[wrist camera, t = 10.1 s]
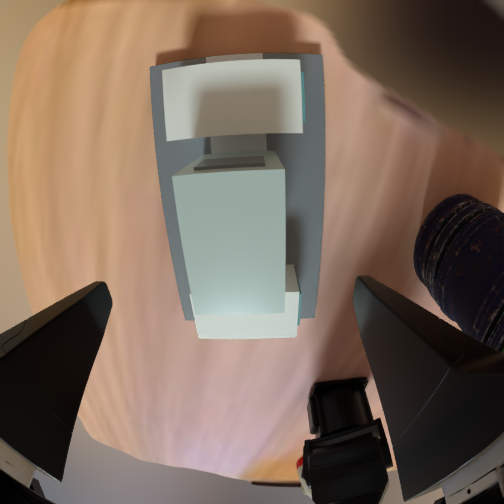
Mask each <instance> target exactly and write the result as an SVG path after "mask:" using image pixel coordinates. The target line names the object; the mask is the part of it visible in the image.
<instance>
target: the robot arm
mask: <svg viewBox="0 0 504 504" xmlns="http://www.w3.org/2000/svg"><path fill="white" fill-rule="evenodd" d="M353 304H354V309H355V313H356V317H357V322H358V327H359V331H360V336H361V339H362V343H363V346H364V349H365V352H366V355H367V358H368V361H369V364H370V367H371V371H372V374H373V377H374V380H375V384H376V387H377V390H378V394H379V397H380V401H381V404H382V408H383V411H384V415H385V419H386V422H387V426H388V430H389V434H390V438H391V442H392V445H393V451H394V456H395V460H396V465H397V469H398V474H399V479H400V484H401V489H402V494H403V499H404V501H405V502H406V501H409V500H411V499H414V498H417V497H420V496H422V495H425V494H427V493H429V492H432V491H434V490H436V489H439V488H441V487H442V489H443V493H444V497H442V498H440V499H438V500H436V501H435V502H434V504H504V353H502V352H500V351H497V350H496V349H494V348H492V347H490V346H488V345H486V344H484V343H483V342H481V341H479V340H477V339H475V338H473V337H471V336H470V335H468V334H466V333H464V332H462V331H460V330H459V329H457V328H455V327H454V326H452V325H450V324H449V323H447V322H445V321H444V320H442V319H439V317H437V316H436V315H434V314H432V313H431V312H429V311H428V310H426V309H424V308H423V307H421V306H419V305H418V304H416V303H414V302H413V301H411V300H409V299H408V298H406V297H404V296H403V295H401V294H399V293H398V292H396V291H394V290H392V289H391V288H389V287H387V286H386V285H384V284H382V283H380V282H379V281H377V280H375V279H373V278H372V277H370V276H358V277H357V278H356V282H355V288H354V293H353ZM111 308H112V298H111V295H110V292H109V289H108V287H107V284H106V283H105V282H103V281H96V282H93V283H92V284H90V285H88V286H86V287H84V288H82V289H80V290H78V291H77V292H75V293H73V294H71V295H69V296H67V297H65V298H64V299H62V300H60V301H58V302H56V303H55V304H53V305H51V306H49V307H47V308H46V309H44V310H42V311H40V312H39V313H37V314H35V315H33V316H32V317H30V318H28V319H27V320H25V321H23V322H21V323H19V324H18V325H16V326H14V327H12V328H11V329H9V330H7V331H5V332H3V333H1V334H0V504H55V503H53V502H52V501H50V500H48V499H47V498H45V496H44V493H43V491H42V489H41V486H40V484H39V481H38V480H37V479H35V478H33V476H34V473H35V471H36V470H38V471H40V472H42V473H44V474H45V475H47V476H49V477H51V478H53V479H55V480H58V481H59V482H62V479H63V474H64V468H65V463H66V459H67V454H68V449H69V445H70V441H71V437H72V432H73V429H74V425H75V421H76V417H77V414H78V410H79V407H80V404H81V400H82V397H83V394H84V391H85V387H86V384H87V381H88V378H89V375H90V372H91V369H92V367H93V364H94V361H95V358H96V355H97V353H98V350H99V347H100V345H101V342H102V339H103V336H104V333H105V329H106V325H107V322H108V318H109V315H110V312H111ZM367 383H368V379H367V378H366V377H365V378H358V379H350V380H343V381H334V382H325V383H317V384H315V385H314V389H313V394H312V396H310V397H309V401H308V406H307V411H308V419H309V427H310V433H311V434H315V436H316V439H312V440H310V439H309V440H305V444H304V447H303V468H302V472H301V478H302V479H304V480H305V481H306V484H307V486H308V488H309V489H311V492H312V500H313V501H314V502H315V504H381V503H382V500H383V498H384V495H385V493H386V491H387V489H388V486H389V479H388V475H387V470H386V469H387V468H390V467H393V462H392V458H391V454H390V450H389V446H388V442H387V439H386V435H385V432H384V429H383V425H382V422H381V419H380V418H377V419H376V420H374V419H373V416H372V412H371V409H370V405H369V402H368V398H367V395H366V392H365V388H366V386H367ZM379 437H380V438H379Z"/></svg>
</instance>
